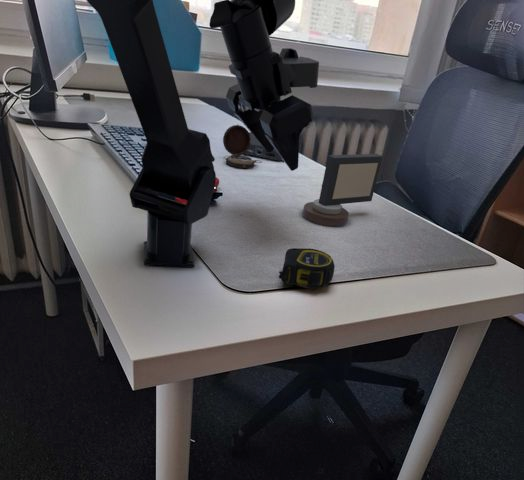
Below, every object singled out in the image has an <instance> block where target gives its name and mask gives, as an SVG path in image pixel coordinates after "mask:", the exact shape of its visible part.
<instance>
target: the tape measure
mask: <svg viewBox="0 0 524 480" xmlns="http://www.w3.org/2000/svg"><path fill="white" fill-rule="evenodd" d="M335 267H336V265H335V262H334V259H333V257H332V256H331V255H330V254H328V253H326V252H325V251H322V250H320V249H316V248H307V247H306V248H301V247H300V248H299V247H298V248H297V247H292V248H288V249H287V250H286V251H285V255H284V262H283V266H282V270H281V271H280V270H279V272H278V274H279V275H278V278H279V279H281V282H282V284H284V285H285V286H286V285H288V286H294V285H295V286H298V287H300V288H304V289H308V290H309V289H310V290H311V289H322V288H324V287H326V286H328V285H329V284H330V283H331V282H332V280H333V277H334V273H335V269H336V268H335Z"/></svg>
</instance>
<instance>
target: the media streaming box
mask: <svg viewBox="0 0 524 480" xmlns="http://www.w3.org/2000/svg"><path fill="white" fill-rule="evenodd" d="M248 132H249V134H250V138H251V140H250V146H249V148H248V150H247V151H246V152H245V153H244V154H246V155H250V156H253V157H260V158H264V159H268V160H274V161H283V159H282V158H281V156H280V155H279V154H278V152H277V151H276V150H275V148H274V150H273V151H271V152H269V153H268V152H267V151H266V150H265V149H264V148H263V146H262V145H261V144H260V143H259V142H258V140H257V139H256V138H255V137H254V136H253V134H252V133H251V132H250V131H248Z"/></svg>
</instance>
